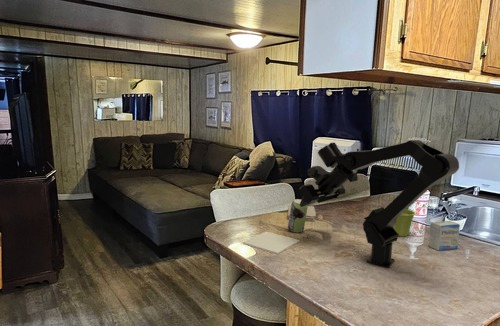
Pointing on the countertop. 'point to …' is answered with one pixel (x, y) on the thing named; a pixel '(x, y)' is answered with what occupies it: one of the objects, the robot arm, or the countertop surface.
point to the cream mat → (271, 242)
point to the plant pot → (404, 223)
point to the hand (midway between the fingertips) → (309, 203)
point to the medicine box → (444, 235)
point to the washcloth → (310, 213)
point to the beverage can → (297, 216)
